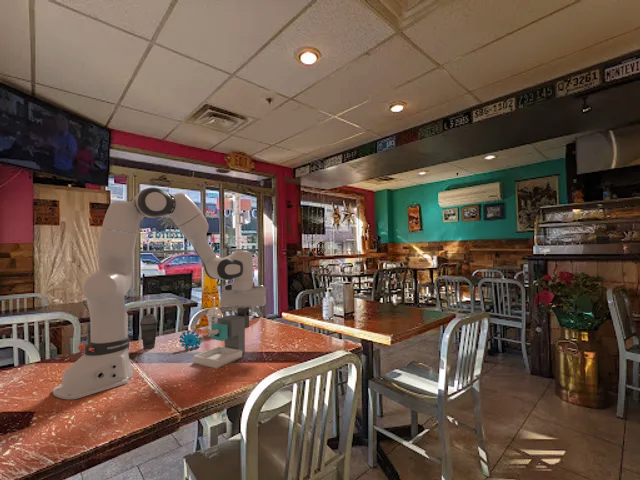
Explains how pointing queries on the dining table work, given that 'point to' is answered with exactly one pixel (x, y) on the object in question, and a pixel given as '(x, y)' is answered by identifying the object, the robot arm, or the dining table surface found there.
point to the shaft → (241, 312)
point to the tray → (217, 357)
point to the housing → (235, 331)
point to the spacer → (220, 331)
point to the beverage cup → (148, 330)
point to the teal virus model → (190, 340)
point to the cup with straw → (213, 315)
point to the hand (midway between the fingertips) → (243, 316)
